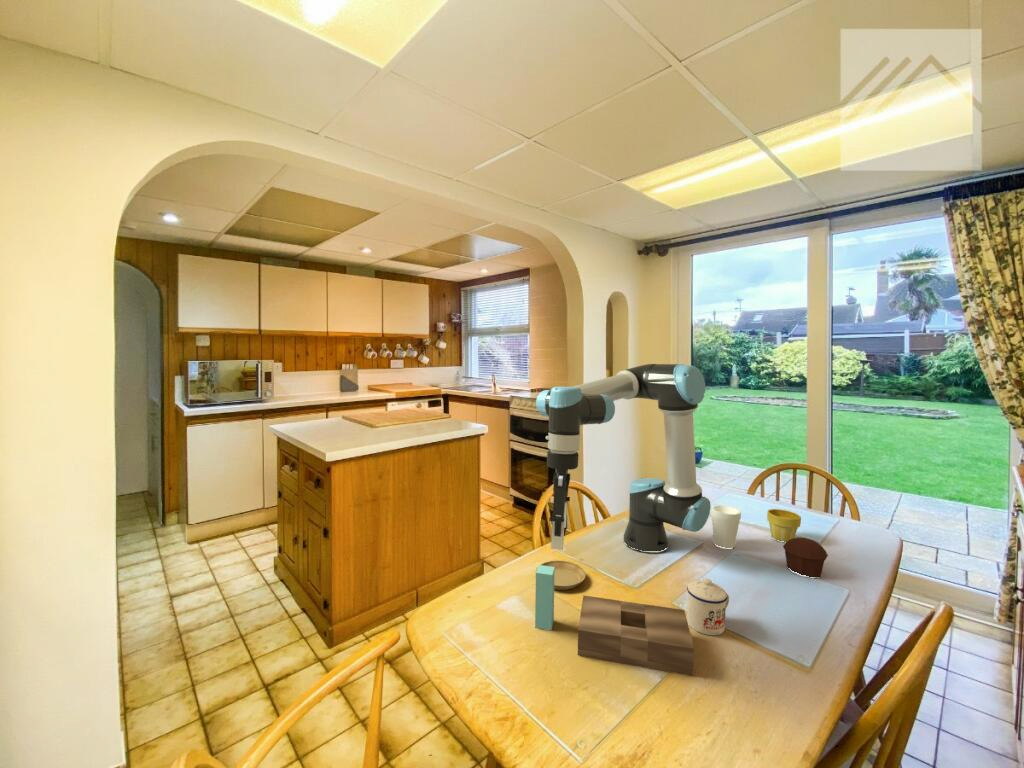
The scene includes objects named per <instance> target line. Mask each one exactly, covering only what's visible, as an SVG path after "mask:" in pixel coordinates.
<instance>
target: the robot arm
mask: <svg viewBox="0 0 1024 768" xmlns="http://www.w3.org/2000/svg"><path fill="white" fill-rule="evenodd" d="M705 393H706V382H705V377H704V375H703V373H702V372H701V371H700V369H699V368H698V367H696V366H694V365H692V364H691V365H689V364H683V363H671V364H670V363H668V364H667V363H664V364H663V363H658V364H657V363H648V364H642V365H638V366H634V367H630V368H626V369H624V370H620V371H618V372H617V373H616V374H615V375H613V376H609V377H604V378H601V379H597V380H593V381H590V382H584V383H582V384H581V383H580V384H578V385H573V386H558V385H557V386H553V387H552V388H551V389H545V390H542V391H540V392H539V394H538V395H537V397H536V401H535V405H536V406H535V407H536V410H537V412H538V414H540V415H541V416H545V417H548V433H547V434H548V435H546V436H545V440H547V448H548V451H547V453H546V454H547V455H546V465H547V467H549V468H550V469H555V470H556V472H554V473H553V475H552V483H553V485H552V487H553V488H552V490H553V492H552V493H553V506H552V516H551V517H549V522H551V539H550V541H551V544H550V546H551V547H550V549H552V550H559V551H560V550H561V551H563V550H564V541H565V540H564V536H565V528H566V527H567V513H568V502H570V501H571V497H570V496H568V494H569V487H570V482H571V473H569V470H572V471H573V470H575V469H578V467H579V458H580V457H579V452H578V451H579V450H580V439H581V438H580V437H581V434H580V433H581V426H584V425H601V424H604V423H605V424H606V423H608V422H610V421H611V420H612V419H613V418H614V416H615V413H616V405H615V401H619V400H622V399H623V400H632V399H645V400H652V401H653V400H654V401H657V407H658V410H659V411H660V412H662V413H663V422H664V439H665V442H664V443H665V457H666V458H665V459H666V471H667V482H665V480H663V479H661V478H655V477H654V478H653V477H646V478H645V477H644V478H642V477H641V478H637V479H634V480H632V481H631V482H630V486H629V492H628V493H629V506H628V507H629V512H628V514H629V515H628V516H629V517H628V522H627V525H626V527H625V530H624V532H623V540H624V541H623V543H624V542H625V543H626V544H627V545H628V546H630V547H632V548H635V549H638V550H642V551H661V550H664V549H665V548H667V547H668V548H669V540H668V539H669V538H668V535H667V533H666V529H665V525H664V524H668V525H670V526H674V527H676V528H680V529H682V530H683V531H689V532H692V533H696V532H699V531H701V530H702V529H703V528H704V526H705V525H706V523H707V522H708V520H709V516H710V515H711V507H712V506H711V500H710V499H709V498H708V497H706V496H703V490H702V487H701V486H700V485H699V483H697V468H696V467H697V466H696V450H695V449H696V448H695V446H696V445H695V427H694V412H695V411H696V410H697V409H698V408H699V404H700V403H702V402H703V399H704V398H705ZM628 546H627V547H628Z"/></svg>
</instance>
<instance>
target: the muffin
mask: <svg viewBox="0 0 1024 768" xmlns="http://www.w3.org/2000/svg"><path fill="white" fill-rule="evenodd" d="M782 548H783V549H784V554H785V559H786V560H785V562H786V568H787V567H788V568H790V569H791V570H792V571H794V572H797V573H799V574H801V575H806V576H809V577H820V578H821V575H822V573H823V568H824V565H825V561H826V560H827V559H828V556H829V554H828V553H827V550H826V549H825V548H824V547H823V546H822V545H821V544H820V543H819V542H817V541H815V540H813V539H810V538H807V537H794V538H793V539H790V540H788V541H787V542H786V543H783V545H782ZM788 568H787V569H788Z"/></svg>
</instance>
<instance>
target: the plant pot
mask: <svg viewBox="0 0 1024 768" xmlns="http://www.w3.org/2000/svg"><path fill="white" fill-rule="evenodd" d="M766 514H767V515H766V517H767V518H766V519H767V521H768V523H769V529H770V536H771V538H772V537H773V538H774V539H776V540H779V541H784V542H787V541H788V540H790V539H793V538H796V533H797V531H798V528H800V527H801V523H802V522H801V521H802V516H801V515H800V514H798V513H796V512H794V511H790V510H786V509H781V508H770V509H768V510H767V513H766ZM774 539H773V540H774Z"/></svg>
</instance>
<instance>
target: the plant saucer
mask: <svg viewBox="0 0 1024 768" xmlns="http://www.w3.org/2000/svg"><path fill="white" fill-rule="evenodd" d="M540 565H543V566H551V567H555V578H554V590H559V591H566V590H572V589H574V588H576V587H578V586H579V585H580V584H581V583H582V582H583V581H584V580H585V579H586V575H587V574H586V571H585V570H584V568H583V567H582V566H580V565H578V563H577V564H576V563H574V562H571V561H566V560H558V559H557V560H550V561H545V562H543V563H540ZM537 569H538V566H537V567H536V569H535V572H536V571H537Z"/></svg>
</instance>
